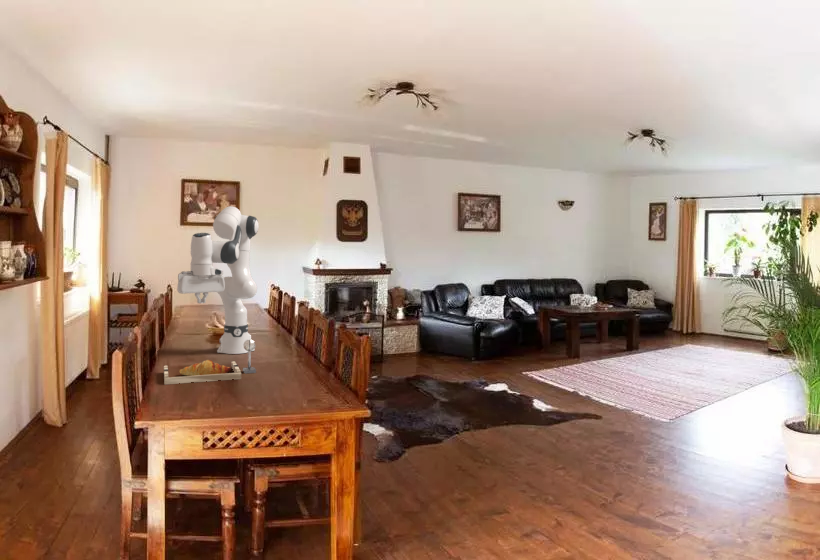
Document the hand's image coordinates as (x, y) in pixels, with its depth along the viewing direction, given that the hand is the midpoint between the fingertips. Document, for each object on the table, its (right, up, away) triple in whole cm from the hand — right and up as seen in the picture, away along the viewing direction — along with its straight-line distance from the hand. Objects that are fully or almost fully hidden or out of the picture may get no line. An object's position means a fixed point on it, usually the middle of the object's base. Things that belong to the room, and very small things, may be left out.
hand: (201, 303), depth 248 cm
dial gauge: (+18, -31, +10) cm, 37 cm away
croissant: (0, -32, +3) cm, 32 cm away
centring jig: (-1, -31, +2) cm, 31 cm away
